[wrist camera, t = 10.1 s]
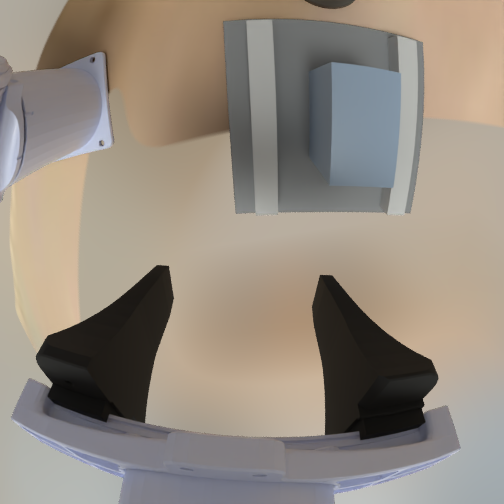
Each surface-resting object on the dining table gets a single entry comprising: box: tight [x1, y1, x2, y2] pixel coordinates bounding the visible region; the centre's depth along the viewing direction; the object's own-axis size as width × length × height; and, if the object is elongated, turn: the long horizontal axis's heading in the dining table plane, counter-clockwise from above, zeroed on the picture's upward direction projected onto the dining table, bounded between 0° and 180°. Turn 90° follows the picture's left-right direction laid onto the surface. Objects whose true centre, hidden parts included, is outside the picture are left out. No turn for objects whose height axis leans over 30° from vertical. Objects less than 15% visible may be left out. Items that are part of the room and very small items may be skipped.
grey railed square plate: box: [223, 19, 424, 215], centre depth 16 cm, size 14×14×2 cm
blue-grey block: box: [309, 62, 401, 188], centre depth 13 cm, size 4×6×6 cm, turn 3°
